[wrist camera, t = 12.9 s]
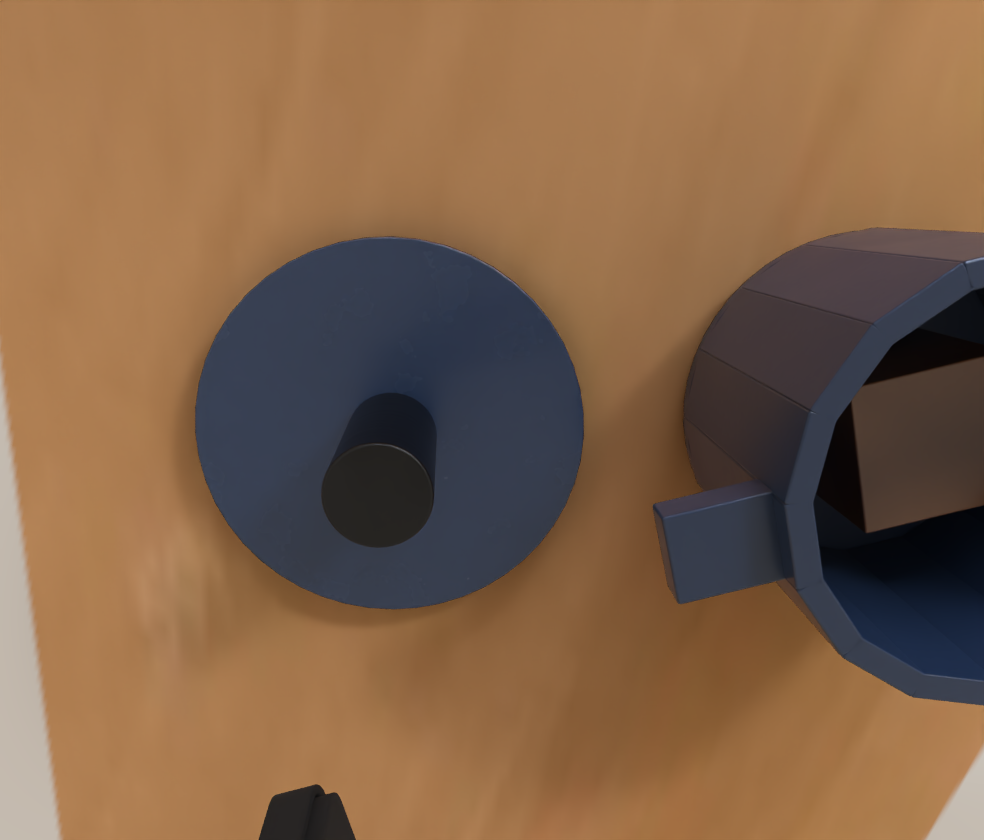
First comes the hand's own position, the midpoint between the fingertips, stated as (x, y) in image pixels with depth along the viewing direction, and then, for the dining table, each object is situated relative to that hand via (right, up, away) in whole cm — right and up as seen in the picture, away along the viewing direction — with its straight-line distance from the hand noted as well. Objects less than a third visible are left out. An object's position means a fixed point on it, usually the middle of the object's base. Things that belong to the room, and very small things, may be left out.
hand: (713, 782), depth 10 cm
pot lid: (-6, +4, +16) cm, 17 cm away
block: (+9, +5, +16) cm, 19 cm away
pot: (+9, +5, +17) cm, 20 cm away
